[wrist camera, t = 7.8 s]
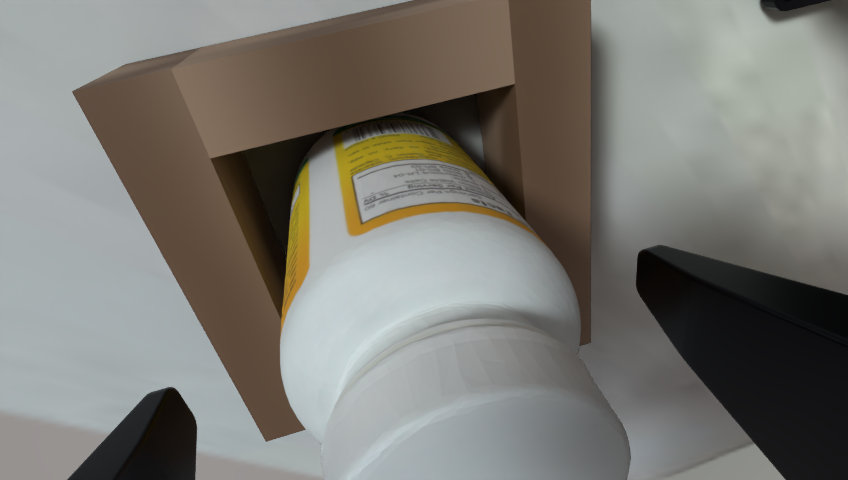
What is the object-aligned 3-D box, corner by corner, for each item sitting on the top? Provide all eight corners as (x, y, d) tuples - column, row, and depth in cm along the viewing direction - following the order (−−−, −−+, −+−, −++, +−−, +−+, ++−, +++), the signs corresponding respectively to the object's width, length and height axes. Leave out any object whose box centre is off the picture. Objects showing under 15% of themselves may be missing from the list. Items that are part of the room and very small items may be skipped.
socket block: (529, -26, 12) (590, -26, 10) (547, 287, 17) (590, 342, 15) (125, 64, 11) (71, 91, 9) (271, 367, 16) (265, 441, 14)
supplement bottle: (394, 64, 12) (569, 241, 4) (503, 201, 15) (739, 470, 7) (247, 197, 13) (157, 557, 5) (375, 304, 16) (449, 655, 8)
